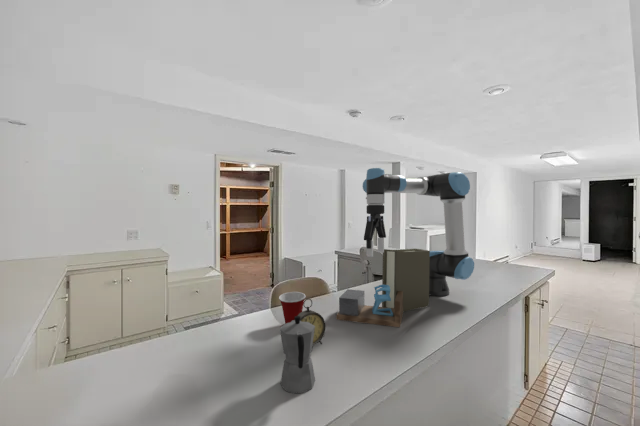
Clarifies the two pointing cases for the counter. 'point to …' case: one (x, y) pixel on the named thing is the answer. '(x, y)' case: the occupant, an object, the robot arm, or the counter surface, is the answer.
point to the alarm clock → (314, 323)
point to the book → (407, 277)
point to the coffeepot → (297, 356)
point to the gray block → (351, 302)
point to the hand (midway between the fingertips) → (375, 254)
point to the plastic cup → (292, 304)
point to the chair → (382, 300)
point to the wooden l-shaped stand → (371, 318)
